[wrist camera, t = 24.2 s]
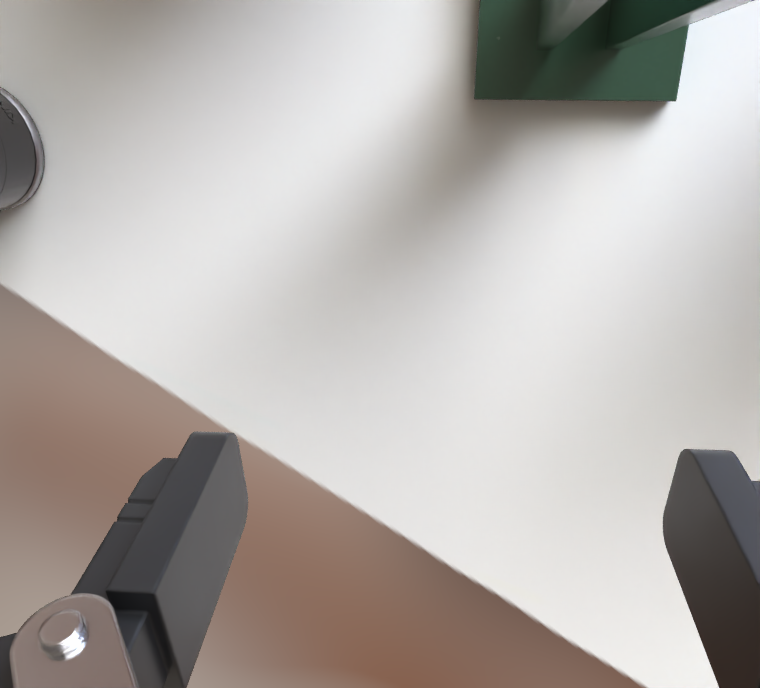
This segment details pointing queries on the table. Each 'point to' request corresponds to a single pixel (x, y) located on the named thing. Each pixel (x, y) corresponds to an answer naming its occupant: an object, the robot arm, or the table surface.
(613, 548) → the table surface
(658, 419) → the table surface
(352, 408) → the table surface
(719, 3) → the green upright stand
